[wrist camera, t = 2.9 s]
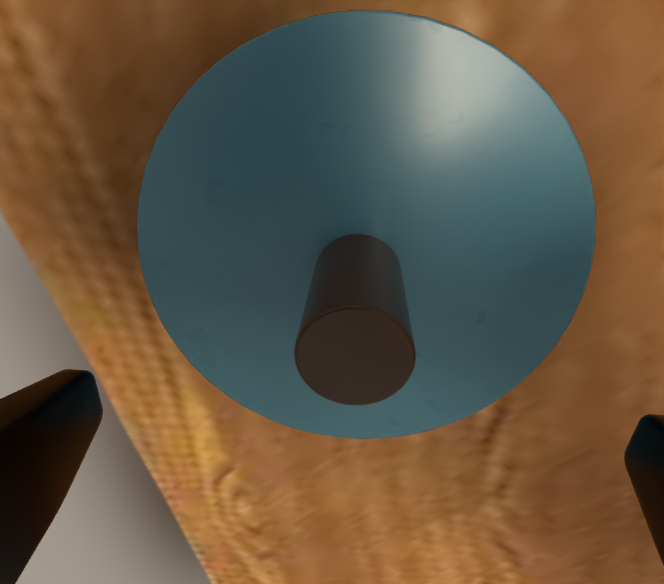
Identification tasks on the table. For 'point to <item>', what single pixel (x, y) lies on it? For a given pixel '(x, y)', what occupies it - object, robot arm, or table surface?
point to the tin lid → (366, 224)
